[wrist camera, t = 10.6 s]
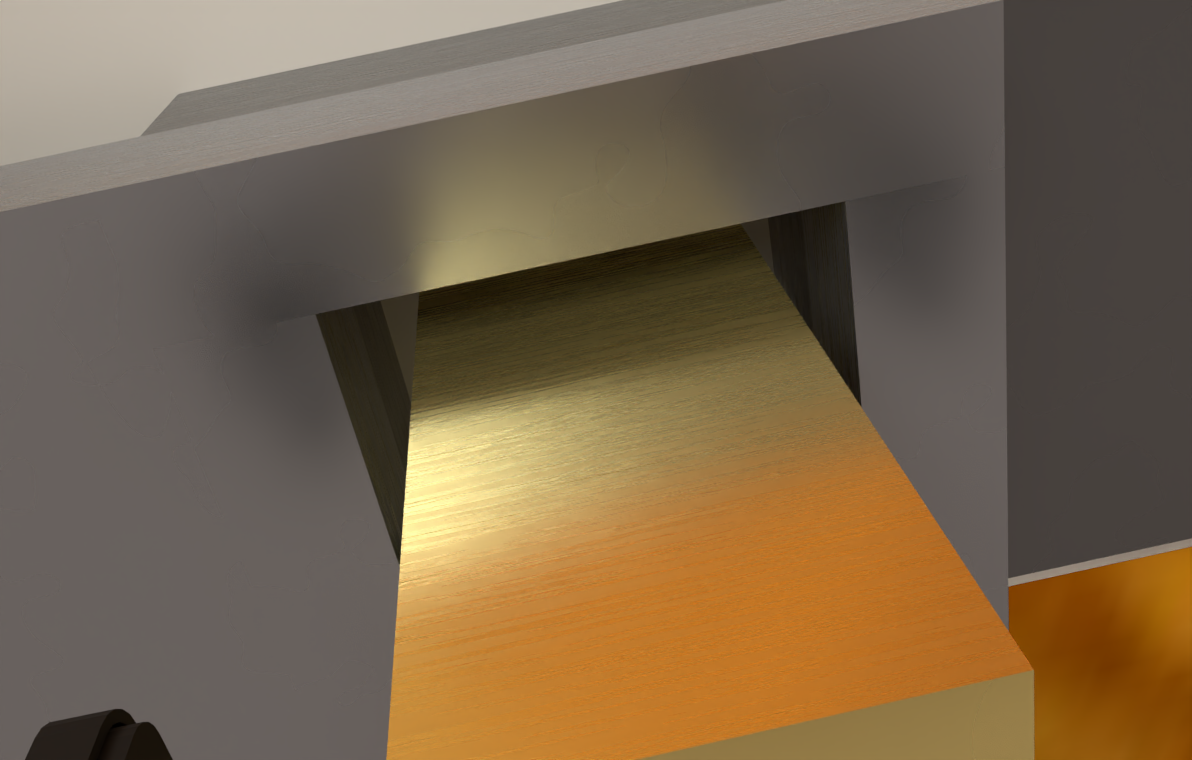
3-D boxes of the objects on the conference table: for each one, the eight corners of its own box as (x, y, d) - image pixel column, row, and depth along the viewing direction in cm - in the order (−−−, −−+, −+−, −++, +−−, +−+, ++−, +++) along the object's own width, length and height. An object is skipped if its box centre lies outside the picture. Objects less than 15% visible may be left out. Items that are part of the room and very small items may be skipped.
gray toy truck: (1597, -247, 14) (1969, -258, 11) (1454, 419, 19) (1681, 563, 16) (-591, 213, 14) (-943, 356, 10) (-182, 776, 19) (-330, 1004, 15)
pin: (706, 172, 16) (1034, 669, 7) (743, 416, 17) (1036, 1056, 9) (423, 234, 16) (381, 816, 7) (490, 473, 17) (528, 1171, 9)
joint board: (1593, -384, 14) (1667, -395, 14) (1423, 457, 21) (1466, 486, 20) (-646, 83, 14) (-719, 103, 13) (-140, 797, 20) (-167, 842, 19)
